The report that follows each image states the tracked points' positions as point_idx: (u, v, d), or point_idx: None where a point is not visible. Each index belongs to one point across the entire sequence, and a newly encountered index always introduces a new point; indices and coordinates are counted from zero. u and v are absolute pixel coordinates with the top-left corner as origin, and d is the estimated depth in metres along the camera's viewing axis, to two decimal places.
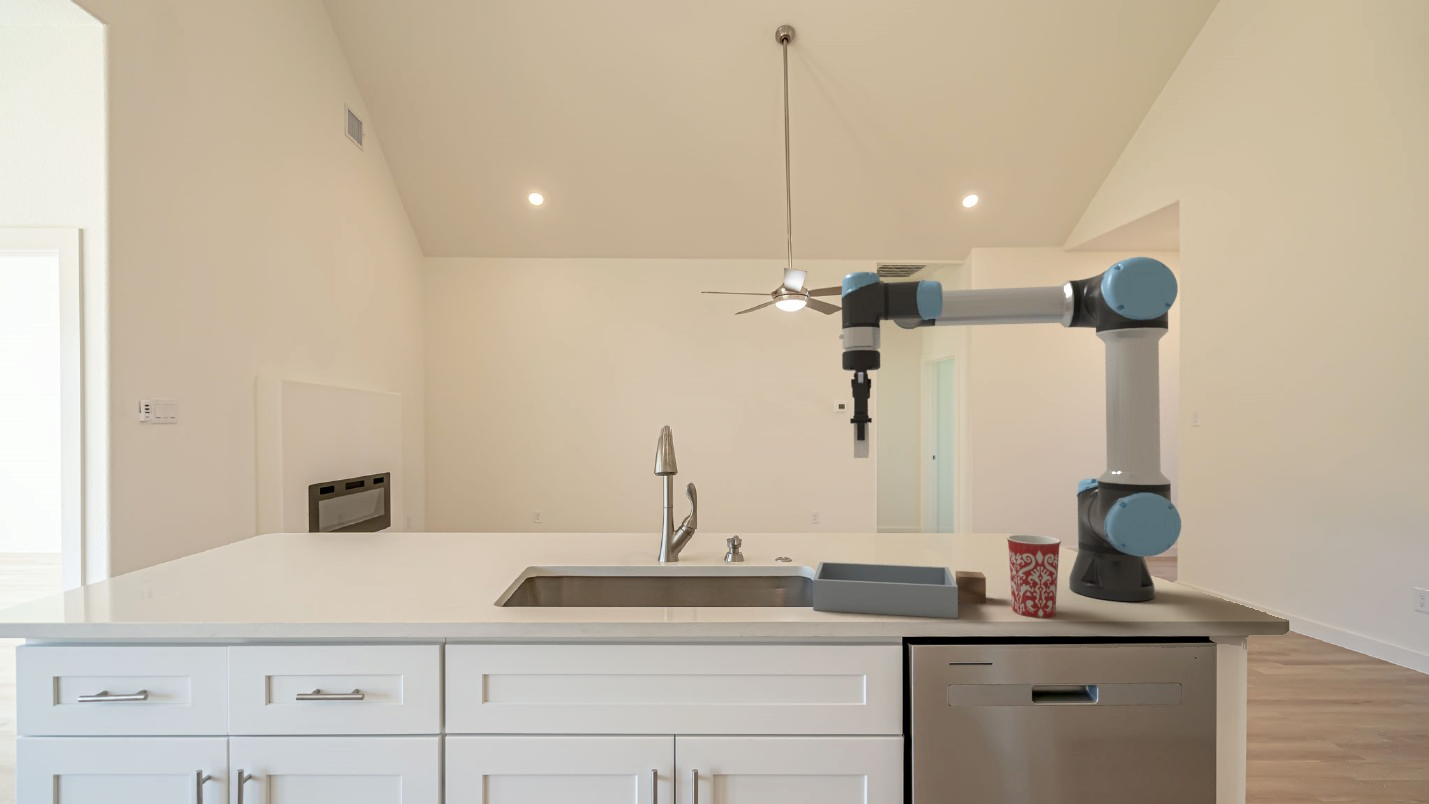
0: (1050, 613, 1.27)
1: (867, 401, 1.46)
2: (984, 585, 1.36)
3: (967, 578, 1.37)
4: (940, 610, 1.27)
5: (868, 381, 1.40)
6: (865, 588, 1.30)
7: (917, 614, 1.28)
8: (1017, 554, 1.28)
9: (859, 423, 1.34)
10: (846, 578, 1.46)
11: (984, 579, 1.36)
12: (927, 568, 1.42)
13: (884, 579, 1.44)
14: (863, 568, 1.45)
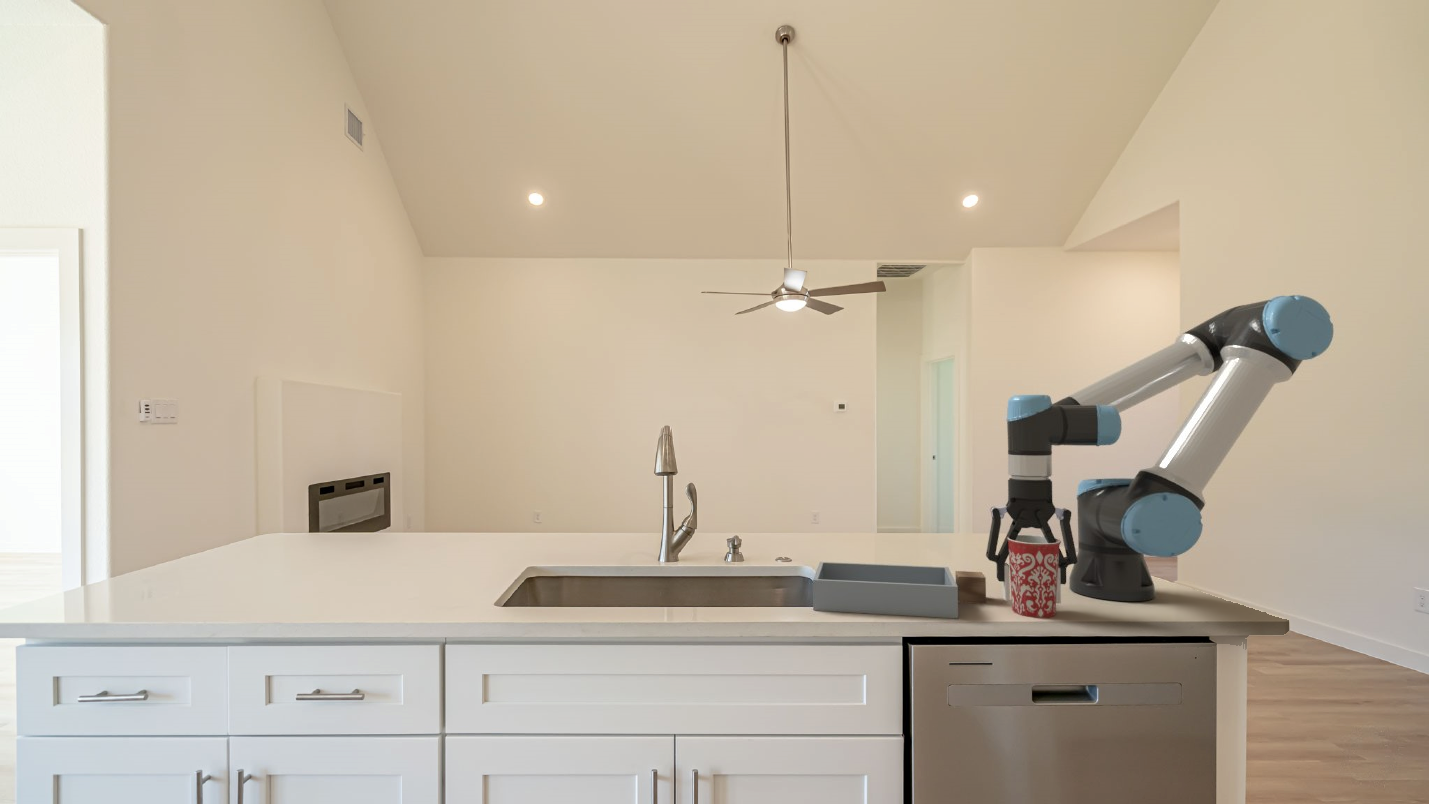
0: (1050, 613, 1.27)
1: (1046, 537, 1.30)
2: (984, 585, 1.36)
3: (967, 578, 1.37)
4: (940, 610, 1.27)
5: (1020, 513, 1.31)
6: (865, 588, 1.30)
7: (917, 614, 1.28)
8: (1017, 554, 1.28)
9: (996, 562, 1.33)
10: (846, 578, 1.46)
11: (984, 579, 1.36)
12: (927, 568, 1.42)
13: (884, 579, 1.44)
14: (863, 568, 1.45)
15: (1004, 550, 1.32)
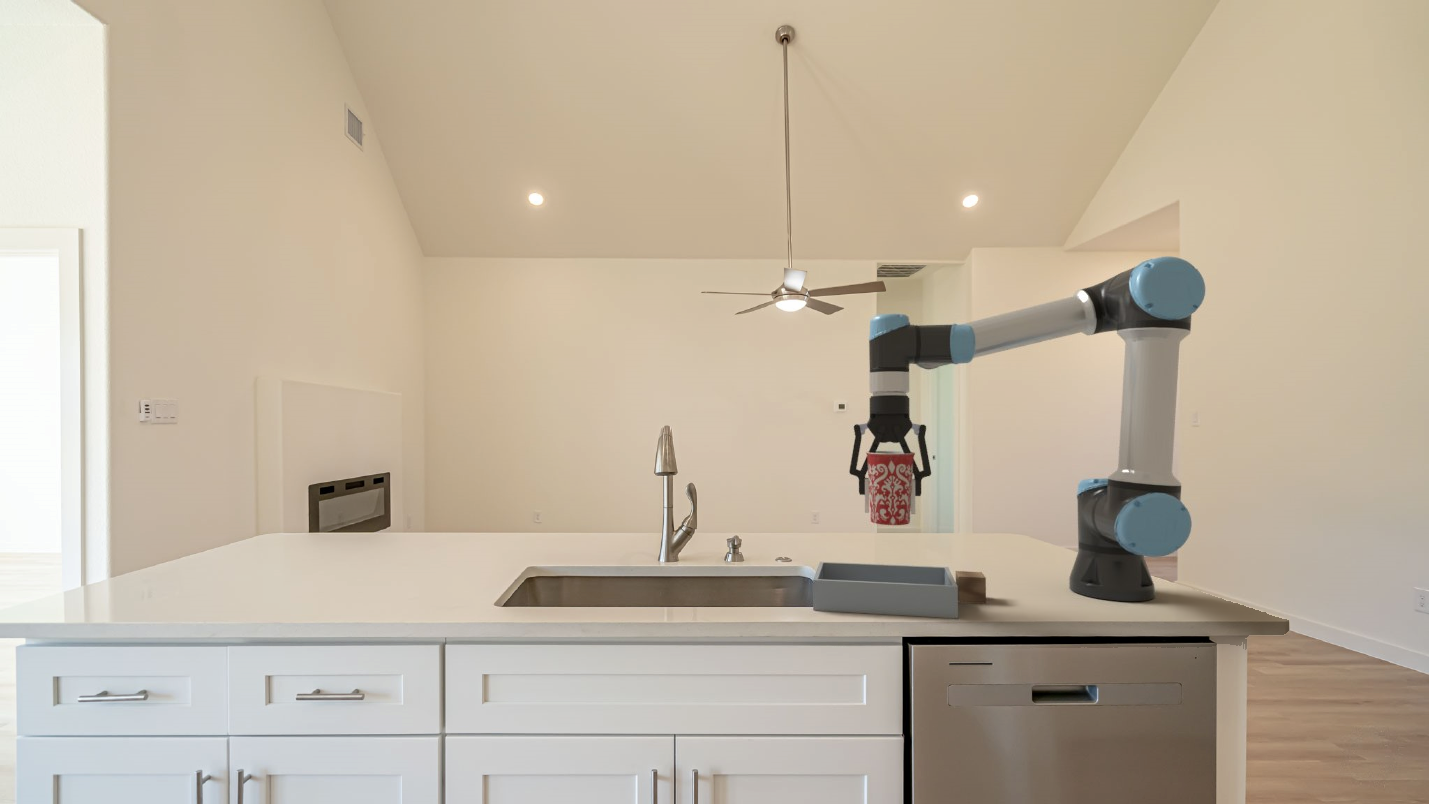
0: (902, 521, 1.32)
1: (903, 450, 1.36)
2: (984, 585, 1.36)
3: (967, 578, 1.37)
4: (940, 610, 1.27)
5: (879, 428, 1.36)
6: (865, 588, 1.30)
7: (917, 614, 1.28)
8: (873, 465, 1.33)
9: None
10: (846, 578, 1.46)
11: (984, 579, 1.36)
12: (927, 568, 1.42)
13: (884, 579, 1.44)
14: (863, 568, 1.45)
15: (864, 464, 1.37)
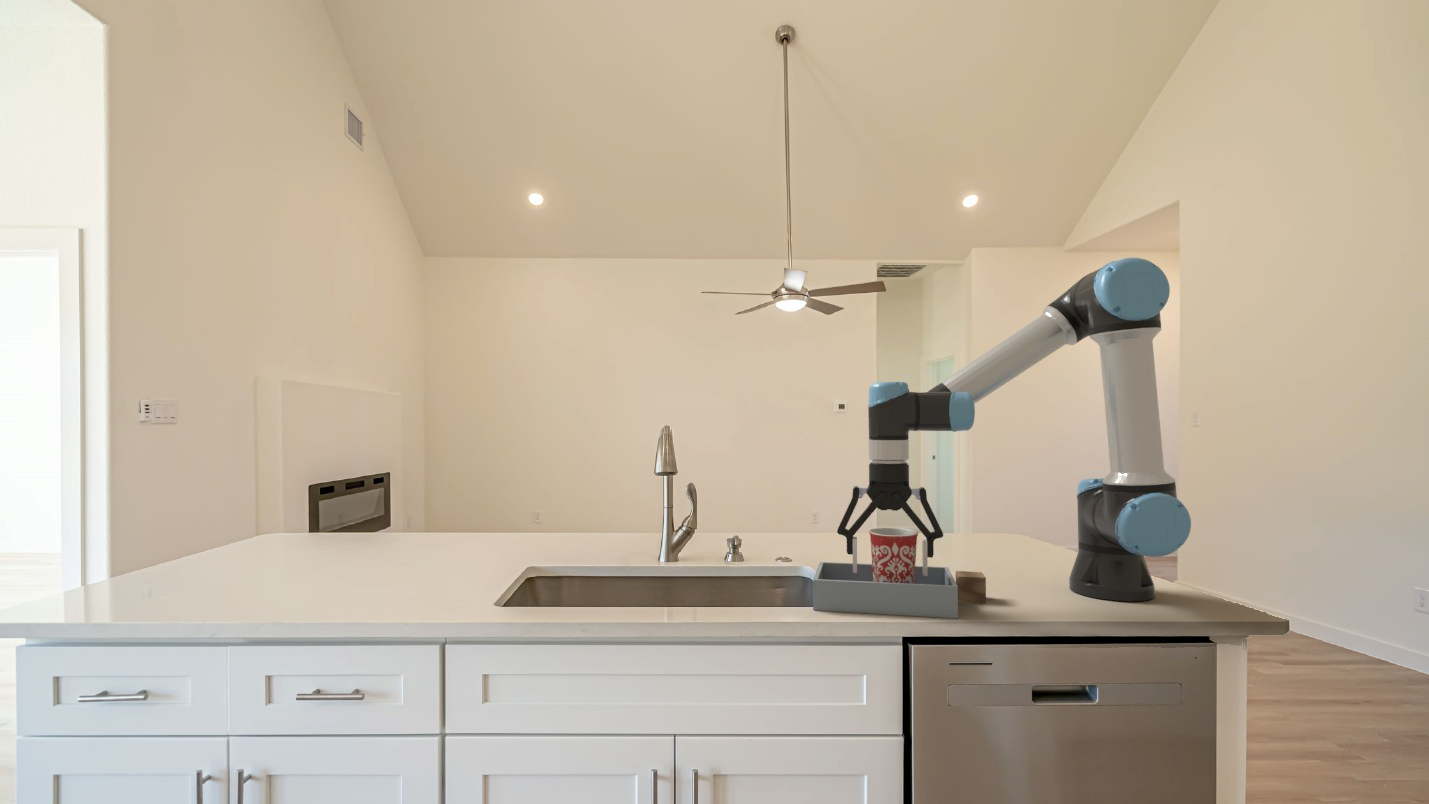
0: None
1: None
2: (984, 585, 1.36)
3: (967, 578, 1.37)
4: (940, 610, 1.27)
5: (878, 495, 1.36)
6: (865, 588, 1.30)
7: (917, 614, 1.28)
8: (876, 546, 1.33)
9: None
10: (846, 578, 1.46)
11: (984, 579, 1.36)
12: None
13: None
14: (863, 568, 1.45)
15: (855, 525, 1.37)
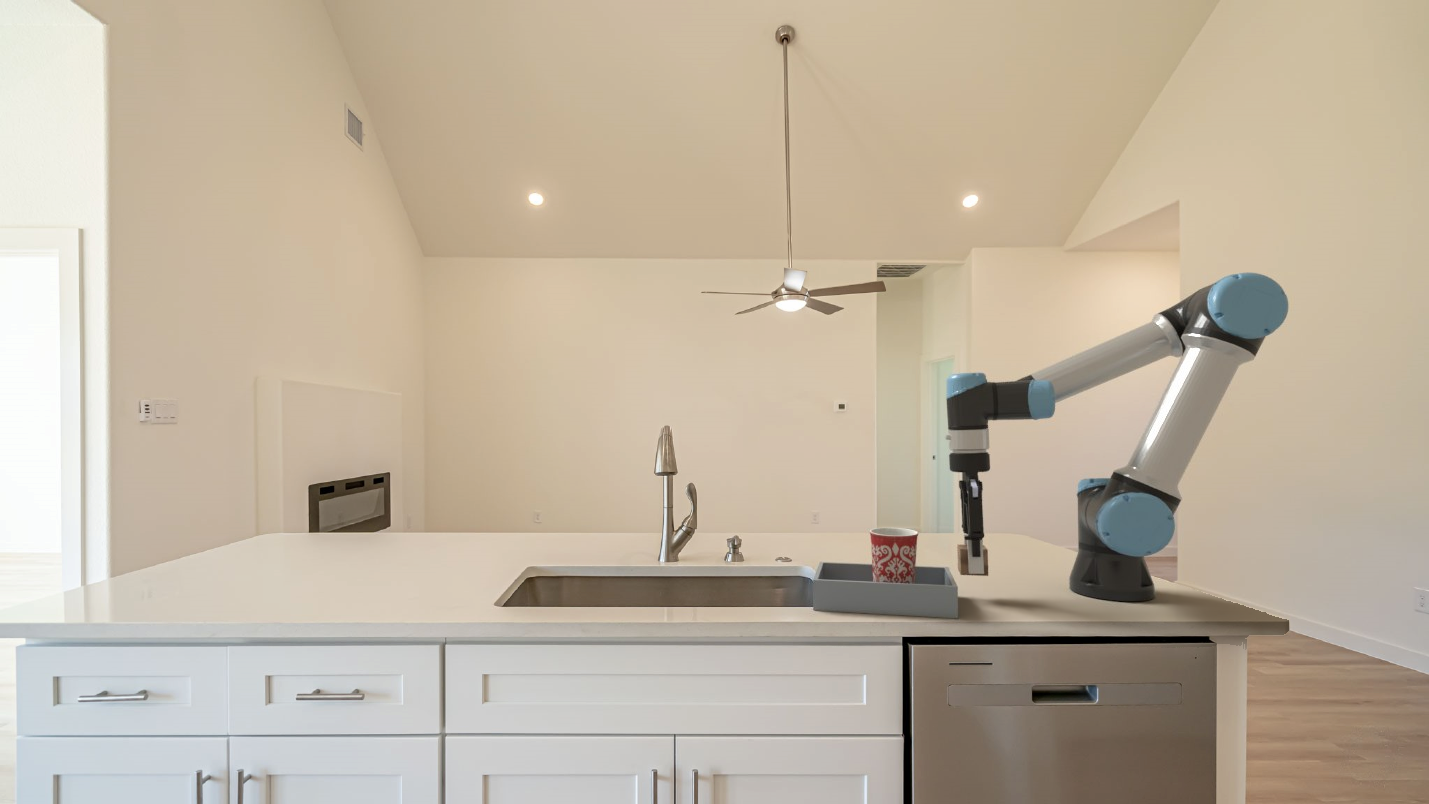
0: None
1: None
2: (986, 557, 1.36)
3: None
4: (940, 610, 1.27)
5: (979, 486, 1.37)
6: (865, 588, 1.30)
7: (917, 614, 1.28)
8: (876, 546, 1.33)
9: (974, 540, 1.35)
10: (846, 578, 1.46)
11: (986, 551, 1.36)
12: (927, 568, 1.42)
13: None
14: (863, 568, 1.45)
15: None
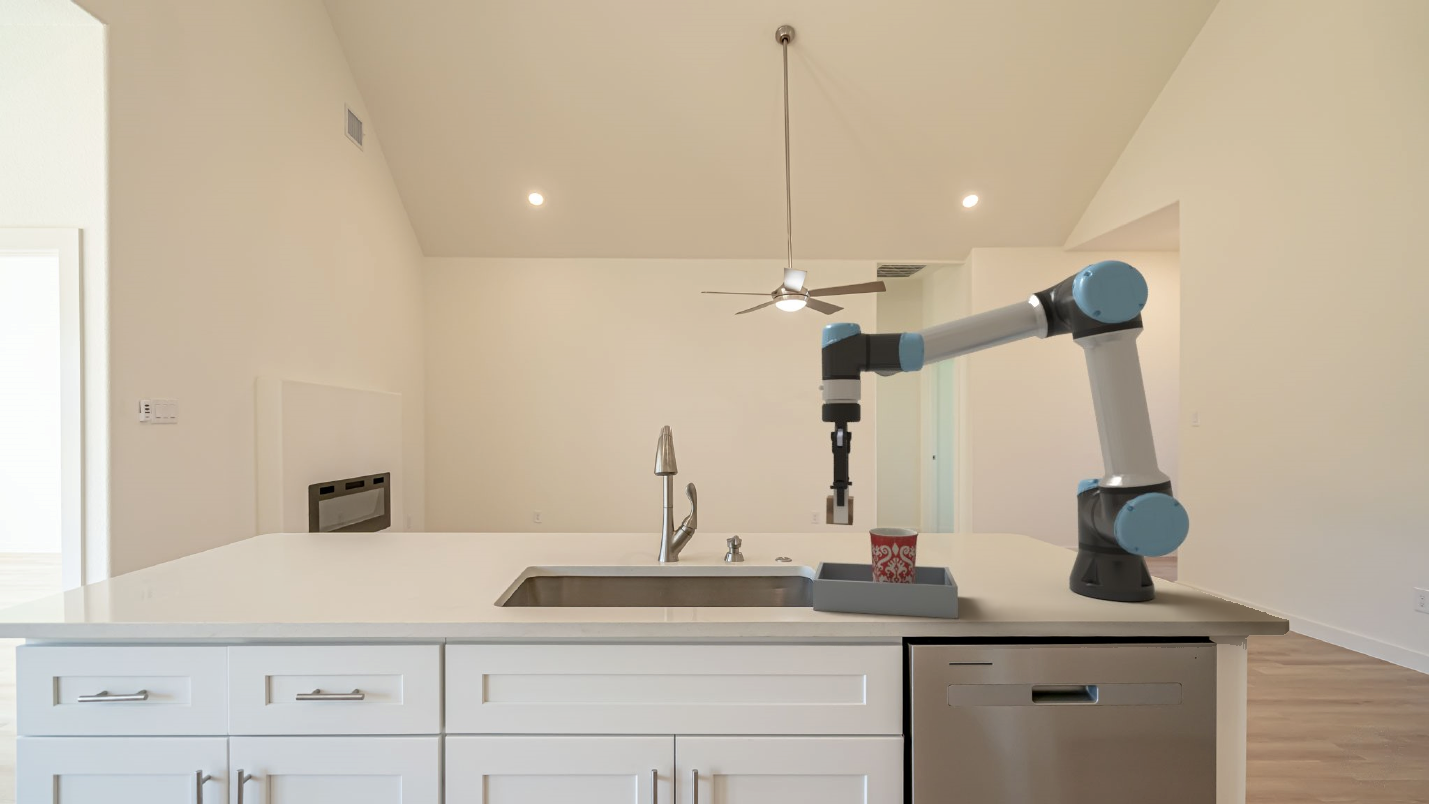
0: None
1: (847, 457, 1.41)
2: (851, 507, 1.36)
3: None
4: (940, 610, 1.27)
5: (848, 436, 1.37)
6: (865, 588, 1.30)
7: (917, 614, 1.28)
8: (876, 546, 1.33)
9: (839, 489, 1.35)
10: (846, 578, 1.46)
11: (851, 501, 1.36)
12: (927, 568, 1.42)
13: None
14: (863, 568, 1.45)
15: None
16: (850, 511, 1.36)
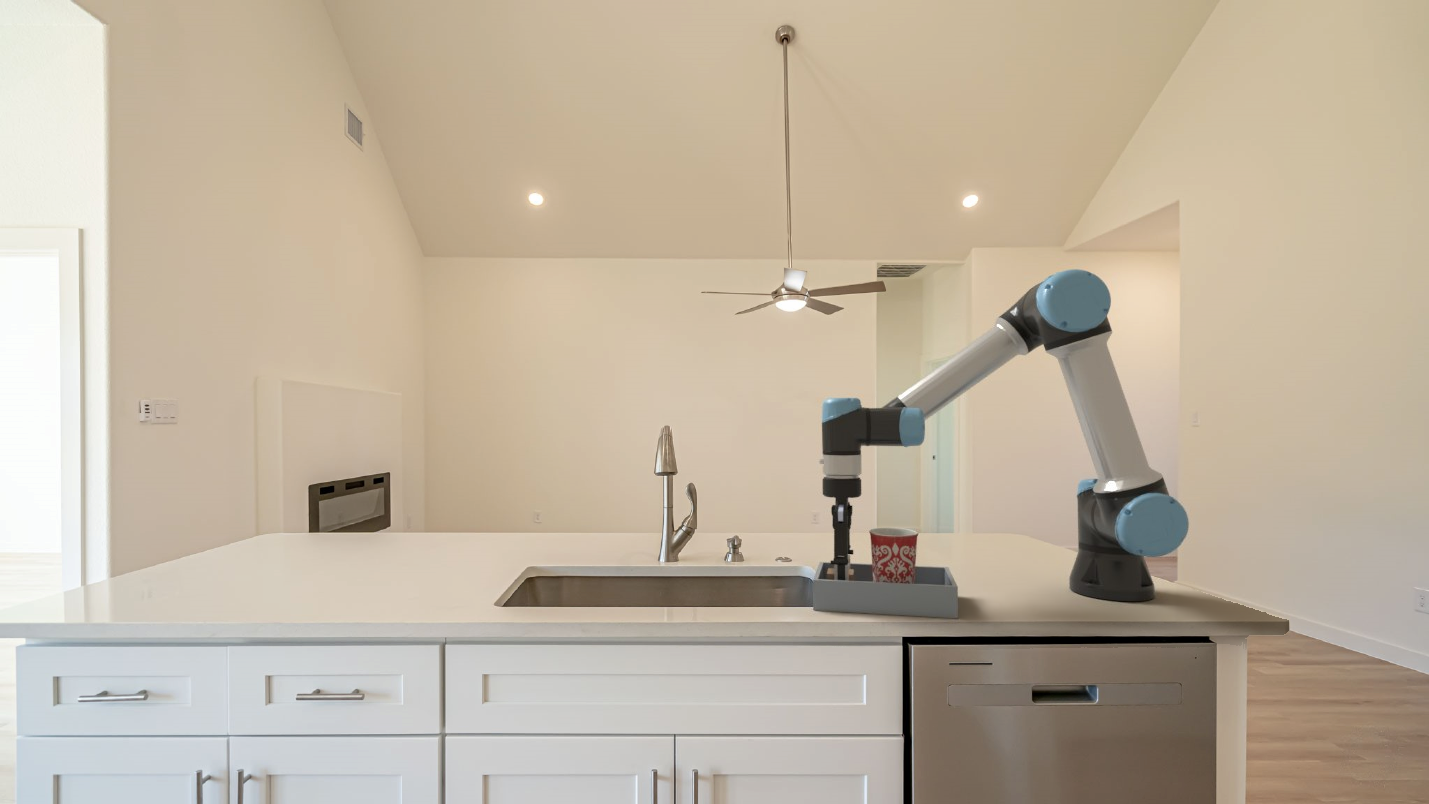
0: None
1: (848, 529, 1.41)
2: None
3: None
4: (940, 610, 1.27)
5: (849, 511, 1.37)
6: (865, 588, 1.30)
7: (917, 614, 1.28)
8: (876, 546, 1.33)
9: (839, 565, 1.33)
10: None
11: (851, 576, 1.36)
12: (927, 568, 1.42)
13: None
14: (863, 568, 1.45)
15: (847, 550, 1.34)
16: None
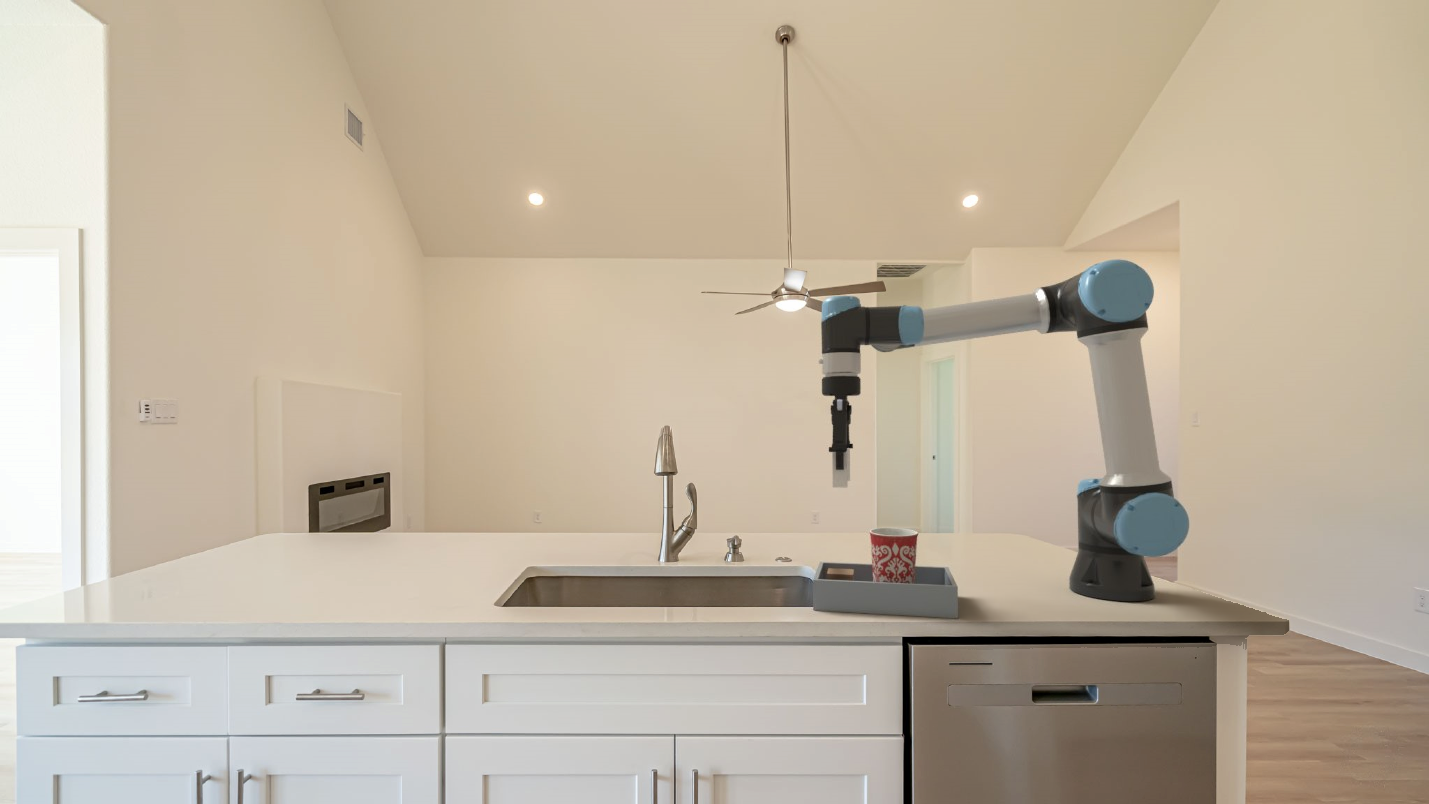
0: None
1: (848, 427, 1.43)
2: None
3: (835, 575, 1.37)
4: (940, 610, 1.27)
5: (848, 407, 1.37)
6: (865, 588, 1.30)
7: (917, 614, 1.28)
8: (876, 546, 1.33)
9: (838, 452, 1.31)
10: None
11: (851, 576, 1.36)
12: (927, 568, 1.42)
13: None
14: (863, 568, 1.45)
15: (846, 439, 1.33)
16: None
